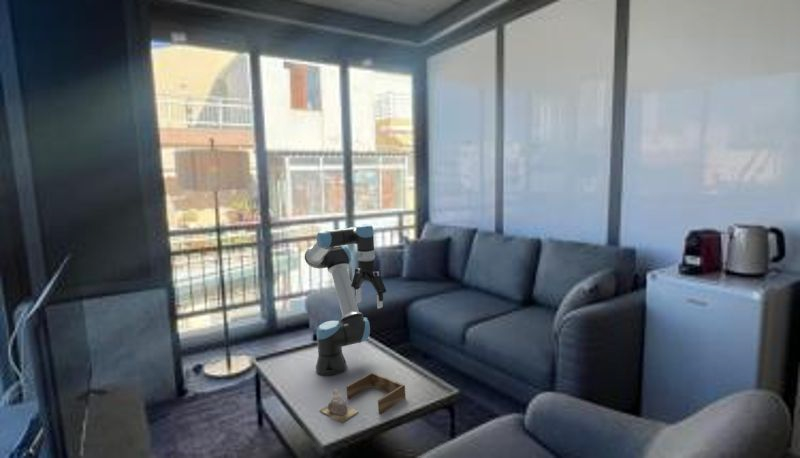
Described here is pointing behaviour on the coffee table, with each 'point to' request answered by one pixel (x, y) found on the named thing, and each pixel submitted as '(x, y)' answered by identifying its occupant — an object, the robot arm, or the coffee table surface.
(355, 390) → the brown open u-shaped frame
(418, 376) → the coffee table surface
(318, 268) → the robot arm
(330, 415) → the mat
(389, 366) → the coffee table surface
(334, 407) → the mineral specimen
